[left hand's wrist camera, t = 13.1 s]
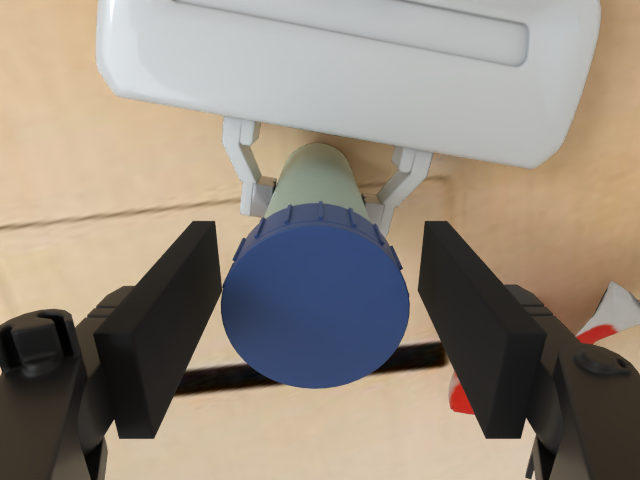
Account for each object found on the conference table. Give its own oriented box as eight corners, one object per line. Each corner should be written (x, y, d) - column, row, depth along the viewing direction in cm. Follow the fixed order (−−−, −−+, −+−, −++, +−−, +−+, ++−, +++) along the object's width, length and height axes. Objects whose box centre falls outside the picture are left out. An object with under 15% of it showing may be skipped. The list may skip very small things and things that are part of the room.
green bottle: (363, 160, 26) (424, 267, 11) (334, 221, 27) (353, 389, 12) (298, 131, 25) (268, 205, 10) (272, 195, 26) (214, 341, 12)
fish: (441, 263, 23) (593, 423, 16) (610, 214, 29) (772, 316, 22) (399, 367, 30) (494, 508, 23) (543, 309, 36) (651, 409, 29)
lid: (427, 239, 12) (448, 268, 10) (354, 367, 14) (360, 412, 12) (268, 172, 12) (258, 190, 10) (212, 317, 13) (194, 356, 11)
